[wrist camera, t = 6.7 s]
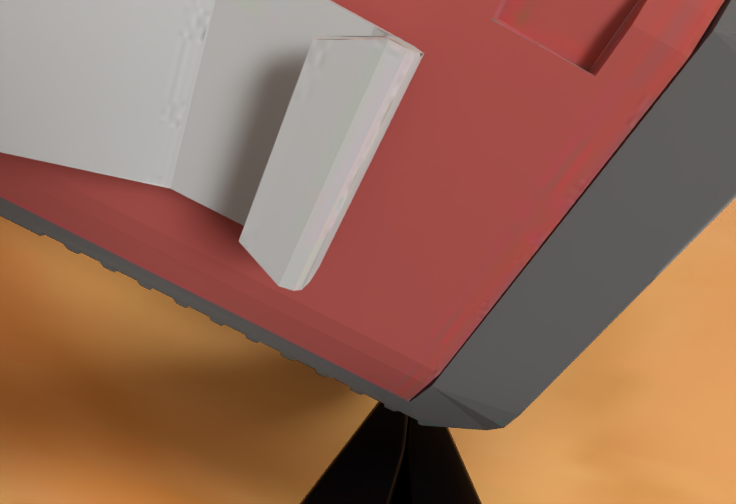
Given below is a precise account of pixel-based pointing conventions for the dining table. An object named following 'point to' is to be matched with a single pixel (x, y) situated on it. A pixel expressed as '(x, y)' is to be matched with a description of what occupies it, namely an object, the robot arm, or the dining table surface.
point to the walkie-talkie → (378, 171)
